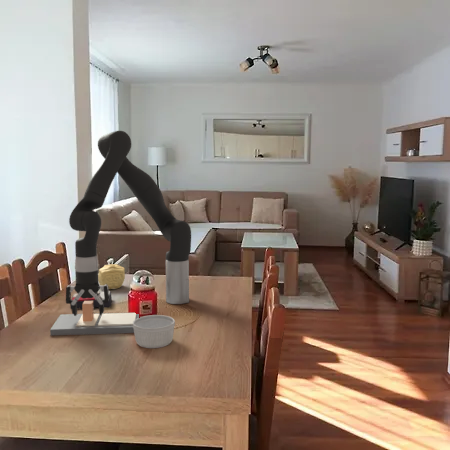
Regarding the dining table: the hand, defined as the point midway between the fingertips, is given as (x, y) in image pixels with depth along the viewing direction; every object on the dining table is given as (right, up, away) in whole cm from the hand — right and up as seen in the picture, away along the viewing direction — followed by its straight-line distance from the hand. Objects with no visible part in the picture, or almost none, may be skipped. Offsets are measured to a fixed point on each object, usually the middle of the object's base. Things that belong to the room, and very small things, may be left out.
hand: (88, 314), depth 176 cm
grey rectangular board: (+3, -4, +1) cm, 5 cm away
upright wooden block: (0, -2, 0) cm, 2 cm away
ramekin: (+25, -7, -14) cm, 29 cm away
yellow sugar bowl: (-3, +3, +52) cm, 52 cm away
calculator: (-6, -1, +27) cm, 28 cm away
